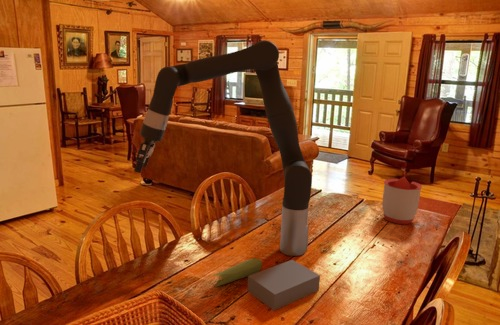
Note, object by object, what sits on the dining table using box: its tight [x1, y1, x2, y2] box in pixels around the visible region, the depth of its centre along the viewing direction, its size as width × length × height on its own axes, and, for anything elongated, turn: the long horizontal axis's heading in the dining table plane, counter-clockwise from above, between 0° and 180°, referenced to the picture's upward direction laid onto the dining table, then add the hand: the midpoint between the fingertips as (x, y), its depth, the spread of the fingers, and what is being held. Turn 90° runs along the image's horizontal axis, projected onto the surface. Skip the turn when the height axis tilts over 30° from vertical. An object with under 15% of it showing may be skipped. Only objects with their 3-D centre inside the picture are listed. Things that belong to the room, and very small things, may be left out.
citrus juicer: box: [381, 176, 423, 225], centre depth 180 cm, size 16×17×20 cm
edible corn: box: [213, 257, 263, 288], centre depth 128 cm, size 5×20×5 cm
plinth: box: [247, 259, 321, 311], centre depth 121 cm, size 18×12×5 cm, turn 128°
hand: (140, 169), depth 138 cm, fingers open, 8 cm apart
